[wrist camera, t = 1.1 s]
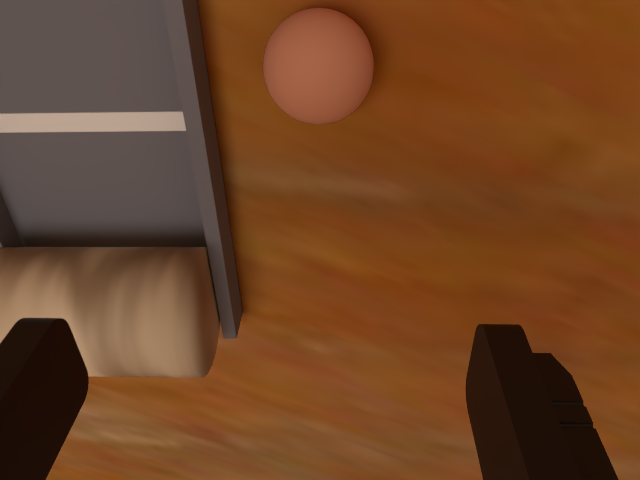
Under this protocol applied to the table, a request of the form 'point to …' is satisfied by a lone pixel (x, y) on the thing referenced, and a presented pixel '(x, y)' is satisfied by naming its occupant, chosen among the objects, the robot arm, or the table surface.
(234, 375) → the table surface
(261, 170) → the table surface
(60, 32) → the runway
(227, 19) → the table surface
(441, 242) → the table surface
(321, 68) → the ball
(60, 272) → the log roller
